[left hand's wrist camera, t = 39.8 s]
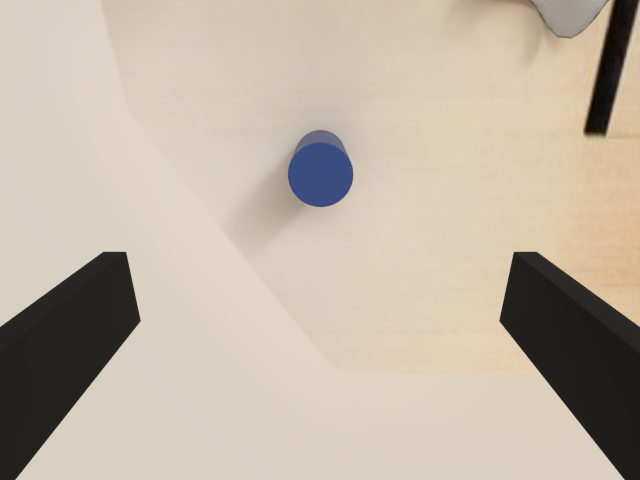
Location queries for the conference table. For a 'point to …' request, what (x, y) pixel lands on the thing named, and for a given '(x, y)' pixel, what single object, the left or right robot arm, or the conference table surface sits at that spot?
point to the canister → (320, 169)
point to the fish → (568, 15)
